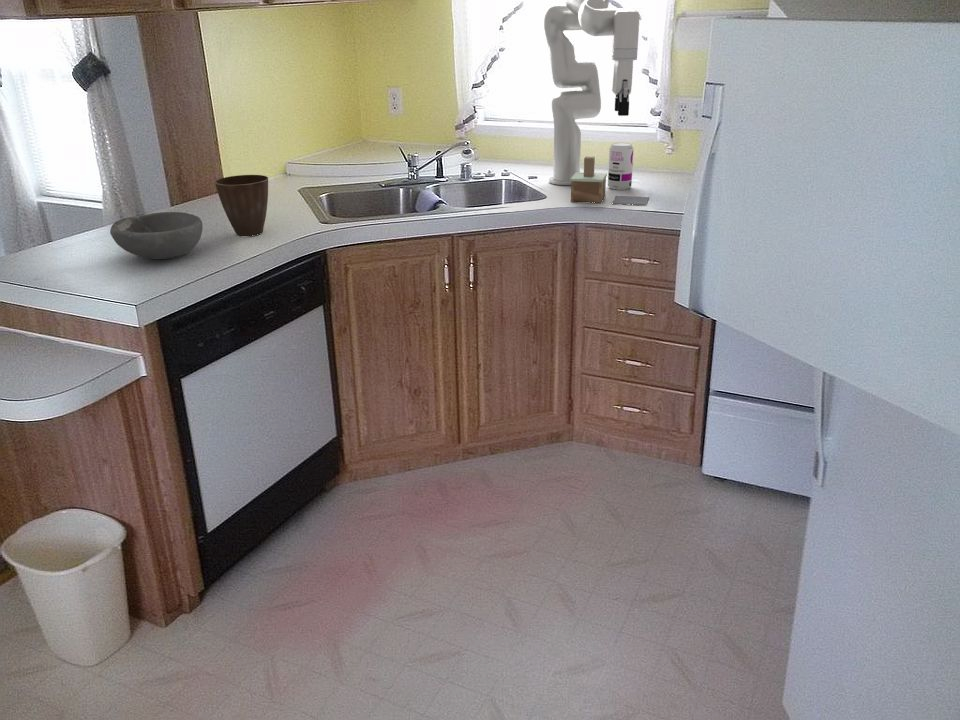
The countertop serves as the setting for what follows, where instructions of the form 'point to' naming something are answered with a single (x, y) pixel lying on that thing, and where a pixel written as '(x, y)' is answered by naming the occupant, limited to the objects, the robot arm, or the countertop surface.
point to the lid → (589, 172)
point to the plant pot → (244, 202)
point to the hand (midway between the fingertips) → (621, 113)
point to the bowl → (158, 234)
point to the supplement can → (620, 166)
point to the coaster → (630, 200)
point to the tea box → (588, 191)
